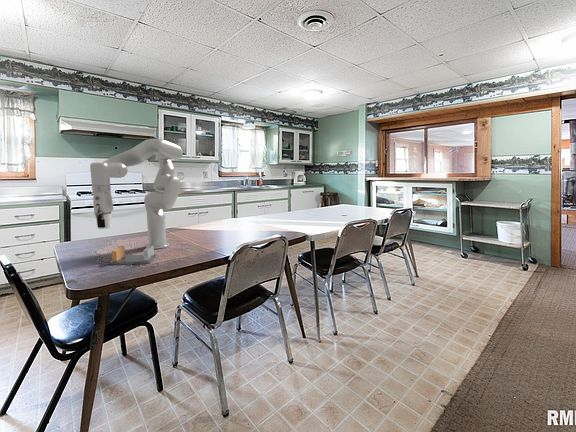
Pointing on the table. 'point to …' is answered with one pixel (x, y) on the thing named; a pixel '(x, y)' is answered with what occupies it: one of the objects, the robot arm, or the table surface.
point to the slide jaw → (118, 253)
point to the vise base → (137, 258)
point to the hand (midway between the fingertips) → (104, 225)
